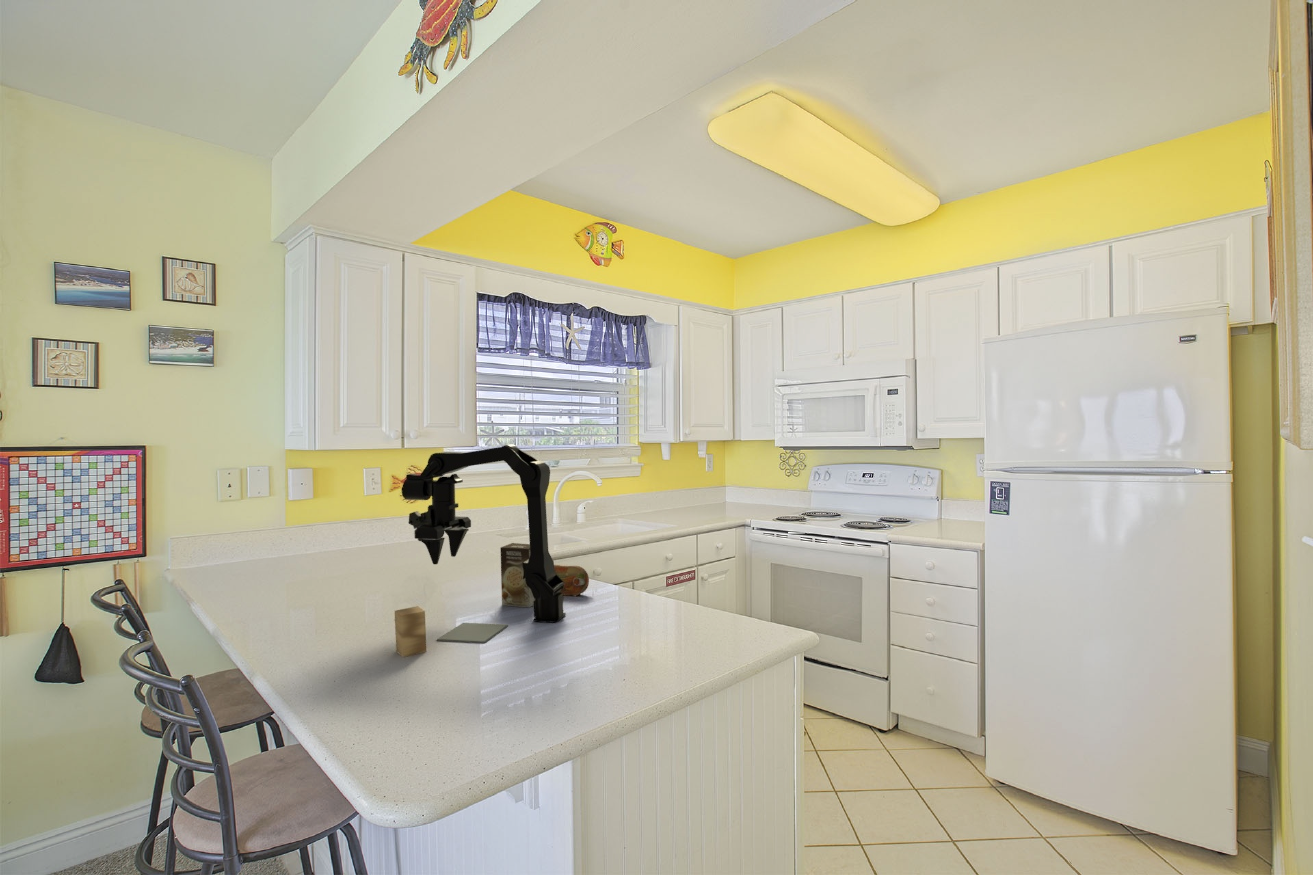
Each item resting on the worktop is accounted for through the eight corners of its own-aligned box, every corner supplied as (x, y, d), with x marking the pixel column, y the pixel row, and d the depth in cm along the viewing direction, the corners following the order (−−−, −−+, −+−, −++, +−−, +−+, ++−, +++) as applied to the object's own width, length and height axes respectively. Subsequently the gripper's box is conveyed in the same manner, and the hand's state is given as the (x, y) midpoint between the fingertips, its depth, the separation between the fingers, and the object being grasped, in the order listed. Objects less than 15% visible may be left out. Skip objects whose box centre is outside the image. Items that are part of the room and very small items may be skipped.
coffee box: (500, 605, 174) (498, 547, 174) (513, 599, 180) (511, 542, 180) (530, 607, 171) (528, 548, 171) (542, 601, 177) (540, 543, 177)
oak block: (419, 645, 144) (417, 606, 144) (426, 651, 140) (424, 610, 140) (396, 651, 141) (394, 610, 141) (402, 657, 137) (401, 615, 137)
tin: (539, 593, 186) (538, 564, 186) (545, 590, 189) (544, 562, 188) (585, 597, 180) (584, 567, 180) (590, 594, 183) (590, 565, 183)
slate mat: (508, 626, 156) (508, 624, 156) (484, 642, 144) (484, 641, 144) (463, 624, 159) (463, 622, 159) (436, 640, 147) (436, 638, 147)
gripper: (434, 495, 176) (434, 551, 177) (394, 504, 158) (395, 567, 158) (471, 496, 174) (472, 553, 175) (435, 505, 156) (436, 569, 156)
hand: (444, 560), depth 166 cm, fingers open, 9 cm apart
